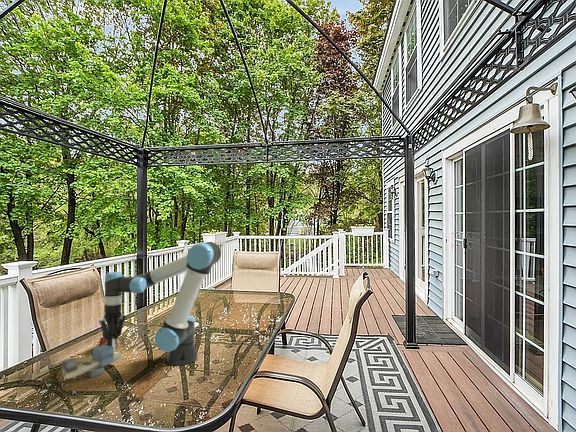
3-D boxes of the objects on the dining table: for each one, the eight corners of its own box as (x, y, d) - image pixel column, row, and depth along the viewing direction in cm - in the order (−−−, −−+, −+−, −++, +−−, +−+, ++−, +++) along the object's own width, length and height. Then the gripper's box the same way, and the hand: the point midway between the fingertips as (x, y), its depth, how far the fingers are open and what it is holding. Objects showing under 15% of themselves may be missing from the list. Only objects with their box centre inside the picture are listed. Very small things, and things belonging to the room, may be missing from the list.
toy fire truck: (93, 354, 191) (93, 335, 191) (108, 346, 203) (108, 328, 203) (104, 355, 190) (105, 335, 190) (119, 347, 202) (119, 329, 202)
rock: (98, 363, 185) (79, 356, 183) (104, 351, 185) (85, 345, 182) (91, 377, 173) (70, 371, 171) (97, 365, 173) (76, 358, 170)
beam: (123, 366, 175) (123, 345, 175) (68, 386, 153) (69, 363, 153) (115, 363, 179) (115, 343, 179) (60, 383, 157) (60, 360, 157)
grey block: (113, 362, 170) (113, 347, 170) (101, 366, 165) (101, 350, 165) (104, 359, 174) (104, 344, 174) (92, 363, 169) (92, 347, 169)
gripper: (120, 300, 182) (119, 346, 182) (95, 305, 171) (94, 354, 170) (129, 302, 178) (128, 349, 178) (104, 307, 167) (103, 357, 167)
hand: (112, 351), depth 174 cm, fingers closed
